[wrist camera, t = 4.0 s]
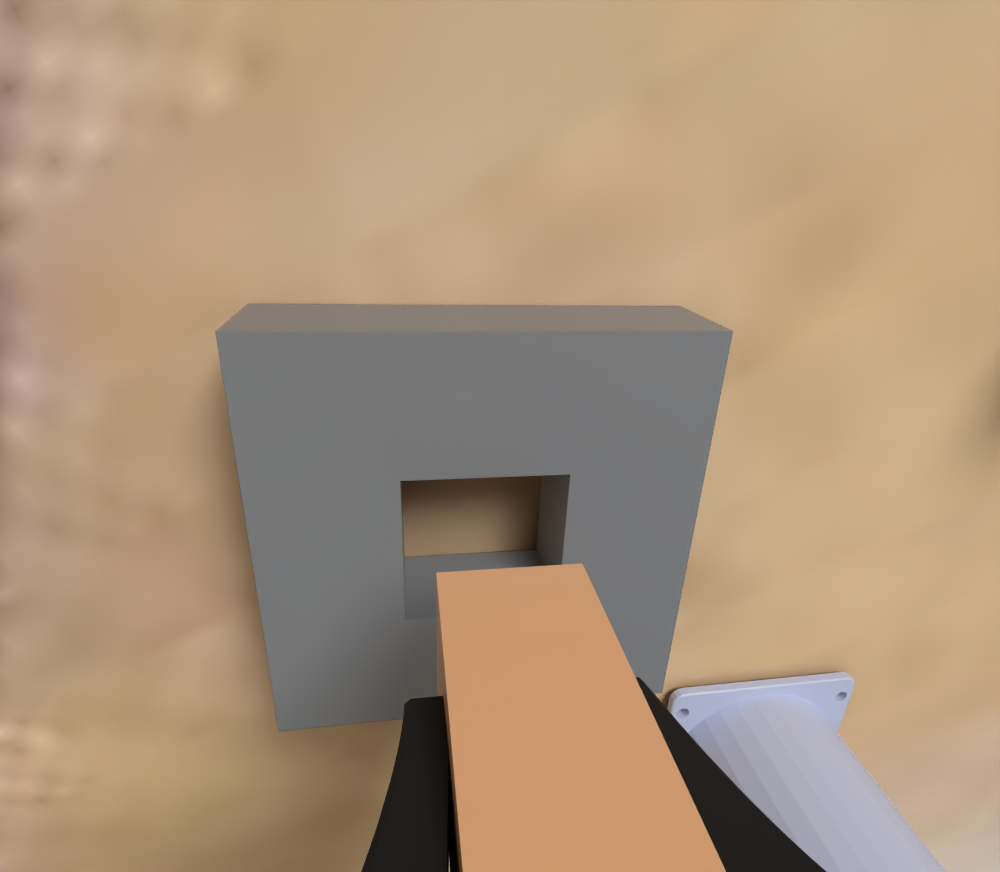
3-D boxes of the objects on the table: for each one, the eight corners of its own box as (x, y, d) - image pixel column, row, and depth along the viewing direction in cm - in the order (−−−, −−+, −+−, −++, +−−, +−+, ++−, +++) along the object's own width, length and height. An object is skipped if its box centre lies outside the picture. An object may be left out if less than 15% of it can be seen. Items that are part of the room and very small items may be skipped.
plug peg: (569, 673, 13) (685, 1013, 8) (437, 685, 13) (463, 1054, 8) (582, 563, 12) (728, 875, 7) (436, 572, 12) (467, 914, 6)
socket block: (629, 628, 22) (661, 692, 19) (295, 656, 20) (278, 731, 18) (680, 306, 17) (733, 331, 15) (248, 303, 15) (215, 331, 13)
